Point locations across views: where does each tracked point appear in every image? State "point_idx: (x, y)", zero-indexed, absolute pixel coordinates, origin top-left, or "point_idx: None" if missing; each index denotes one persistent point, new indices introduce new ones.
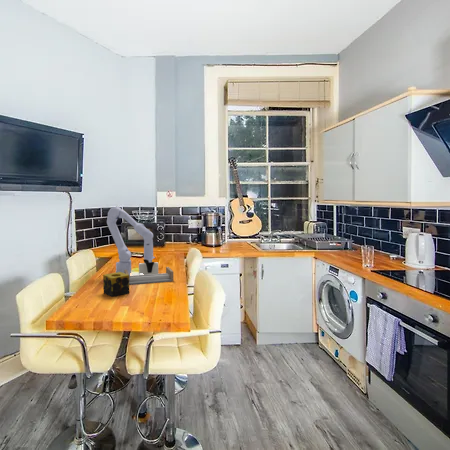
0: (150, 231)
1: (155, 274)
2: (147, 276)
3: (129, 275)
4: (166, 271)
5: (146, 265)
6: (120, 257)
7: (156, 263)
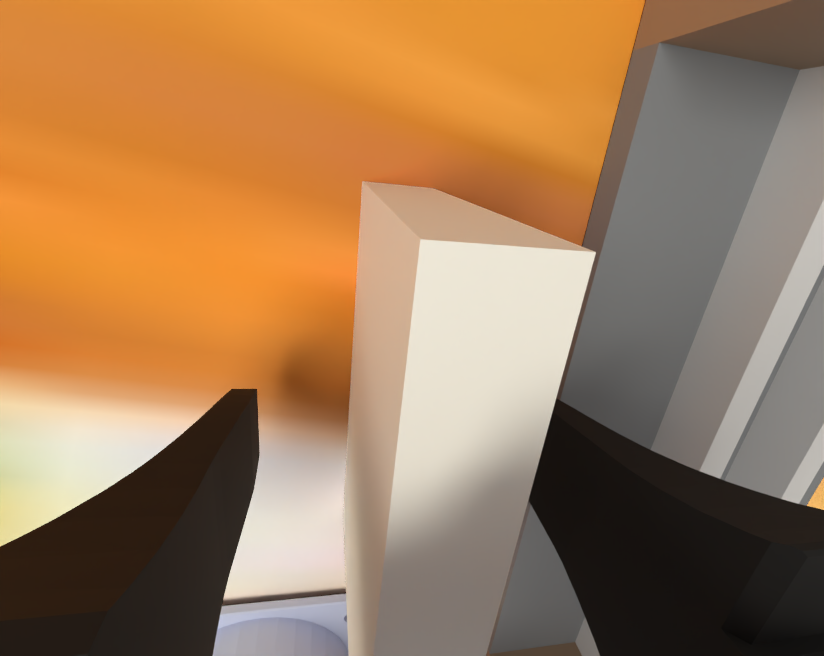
0: None
1: (775, 358)
2: (796, 492)
3: (346, 632)
4: (784, 26)
5: (598, 630)
6: None
7: (557, 338)
